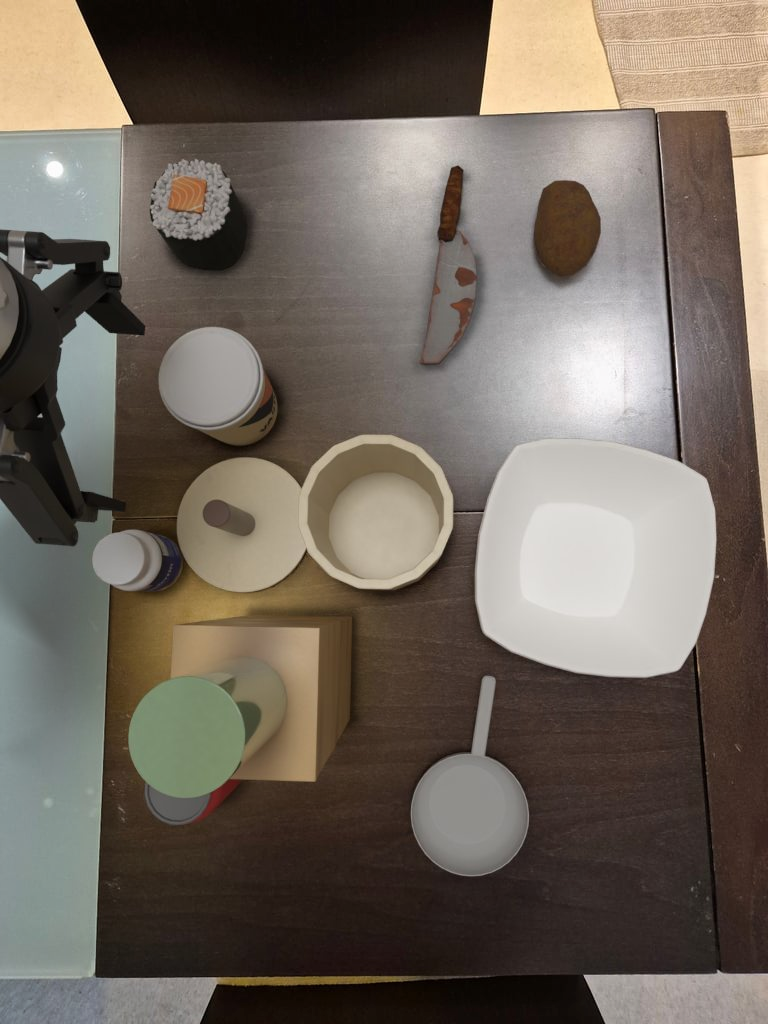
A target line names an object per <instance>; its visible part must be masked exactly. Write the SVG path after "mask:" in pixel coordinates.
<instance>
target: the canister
mask: <svg viewBox="0 0 768 1024" xmlns="http://www.w3.org/2000/svg"><path fill="white" fill-rule="evenodd" d="M286 711H287V693H286V689H285V685H284V683H283V681H282V679H281V677H280V676H279V674H278V673H277V672H276V671H275V670H274V669H273V668H272V667H271V666H270V665H268V664H267V663H265V662H263V661H262V660H259V659H256V658H252V657H245V656H244V657H235V658H231V659H228V660H225V661H222V662H219V663H216V664H213V665H210V666H207V667H204V668H201V669H198V670H195V671H193V672H190V673H187V674H184V675H181V676H178V677H175V678H172V679H170V678H169V679H167V680H164V681H162V682H160V683H158V684H157V685H155V686H154V687H152V688H151V689H150V690H149V691H148V692H147V693H146V694H145V695H143V697H142V698H141V700H140V701H139V702H138V704H137V706H136V707H135V709H134V711H133V713H132V716H131V719H130V722H129V727H128V734H127V735H128V737H127V738H128V743H127V744H128V750H129V754H130V759H131V761H132V763H133V766H134V768H135V769H136V771H137V773H138V774H139V776H140V777H141V778H142V779H143V781H144V782H147V783H148V784H149V785H150V786H151V787H153V788H154V789H156V790H157V791H159V792H161V793H163V794H166V795H168V796H172V797H176V798H194V797H200V796H203V795H206V794H208V793H210V792H213V791H214V790H216V789H217V788H219V787H220V786H222V785H223V784H224V783H225V782H226V781H227V780H228V779H229V778H230V777H231V776H233V775H234V774H235V773H236V772H237V771H238V770H239V769H240V768H241V767H242V766H243V765H244V764H245V763H246V762H247V761H248V760H249V759H250V758H251V757H252V756H253V755H254V754H255V753H256V752H257V751H258V750H259V749H260V748H261V747H262V746H263V745H264V744H265V743H266V742H267V741H269V740H270V739H271V738H272V737H273V736H274V735H275V733H276V732H277V731H278V730H279V728H280V727H281V725H282V723H283V721H284V718H285V716H286Z"/></svg>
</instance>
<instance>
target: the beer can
mask: <svg viewBox="0 0 768 1024" xmlns="http://www.w3.org/2000/svg"><path fill="white" fill-rule="evenodd" d="M241 782H242V780H241V779H228V780H227V781H226V782H225V783H224V784H223V785H222V786H220V787H219V788H217V789H216V790H214V791H213V792H210V793H208V794H206V795H203V796H200V797H194V798H176V797H172V796H168V795H166V794H163V793H161V792H159V791H157V790H156V789H154V788H153V787H151V786H150V785H149V784H148V783H147V782H146V781H144V799H145V802H146V806H147V808H148V809H149V811H150V813H152V815H153V816H154V817H155V818H156V819H158V820H159V821H161V822H163V823H165V824H168V825H169V826H182V825H189V824H193V823H195V822H198V821H202V820H204V819H205V818H206V817H208V816H209V815H211V814H212V813H213V812H214V811H215V810H216V809H217V808H218V807H219V806H220V805H221V804H222V803H223V802H224V800H225V799H227V797H228V796H229V795H230V794H231V793H232V792H233V791H234V790H235V789H236V788H237V787H238V786H239V785H240V783H241Z"/></svg>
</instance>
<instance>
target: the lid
mask: <svg viewBox="0 0 768 1024" xmlns="http://www.w3.org/2000/svg"><path fill="white" fill-rule="evenodd" d="M301 489H302V486H301V485H300V484H299V482H298V481H297V480H296V479H295V478H294V477H293V475H291V474H290V473H289V472H288V471H287V470H286V469H284V468H282V467H281V466H279V465H278V464H275V463H274V462H272V461H268V460H266V459H262V458H259V457H250V456H243V457H233V458H228V459H226V460H223V461H220V462H218V463H216V464H214V465H211V466H210V467H208V468H207V469H205V470H204V471H203V472H202V473H200V474H199V475H198V476H197V477H195V479H194V480H193V481H192V482H191V484H190V486H189V487H188V488H187V490H186V491H185V493H184V495H183V496H182V499H181V502H180V505H179V507H178V511H177V517H176V536H177V542H178V546H179V549H180V551H181V554H182V557H183V559H184V560H185V562H186V563H187V564H188V566H189V567H190V568H191V570H192V571H193V572H194V573H195V574H196V575H197V576H198V577H199V578H200V579H202V580H203V581H205V582H206V583H207V584H209V585H211V586H213V587H215V588H217V589H220V590H223V591H227V592H231V593H253V592H258V591H259V592H260V591H262V590H265V589H268V588H271V587H273V586H275V585H277V584H279V583H280V582H282V581H283V580H285V579H286V578H287V577H288V576H289V575H290V574H291V573H293V572H294V570H296V568H297V567H298V565H299V564H300V563H301V561H302V560H303V558H304V556H305V554H306V552H307V548H306V546H305V543H304V540H303V538H302V535H301V532H300V530H299V527H298V503H299V493H300V491H301Z"/></svg>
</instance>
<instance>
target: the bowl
mask: <svg viewBox="0 0 768 1024" xmlns="http://www.w3.org/2000/svg"><path fill="white" fill-rule="evenodd" d="M491 485H492V486H491V488H490V491H489V493H488V496H487V499H486V503H485V506H484V510H483V514H482V518H481V522H480V524H479V525H480V526H479V530H478V533H477V543H476V551H475V552H476V553H475V562H474V603H475V607H476V612H477V616H478V617H477V618H478V621H479V625H480V629H481V631H482V634H483V635H485V637H487V638H488V639H490V640H491V641H493V642H494V643H496V644H497V645H498V646H500V647H502V648H503V649H505V650H507V651H508V652H510V653H512V654H515V655H518V656H520V657H523V658H526V659H528V660H531V661H534V662H537V663H539V664H542V665H545V666H549V667H553V668H556V669H560V670H563V671H567V672H571V673H574V674H579V675H588V676H597V677H605V678H628V679H629V678H630V679H631V678H632V679H633V678H634V679H635V678H636V679H648V678H653V677H658V676H663V675H667V674H672V673H676V672H678V671H680V669H682V667H683V666H684V664H685V662H686V660H687V659H688V658H689V655H690V654H691V652H692V650H693V649H694V648H695V646H696V644H697V642H698V639H699V636H700V633H701V630H702V627H703V625H704V622H705V618H706V615H707V612H708V607H709V604H710V603H709V602H710V598H711V594H712V589H713V584H714V580H715V572H716V557H717V556H716V555H717V539H718V538H717V537H718V536H717V519H716V518H717V517H716V508H715V505H714V499H713V496H712V492H711V489H710V488H711V487H710V485H709V482H708V480H707V477H705V476H704V475H703V474H701V473H699V472H697V471H696V470H695V469H693V468H692V467H689V466H688V465H686V464H684V463H683V462H681V461H679V460H678V459H674V458H672V457H668V456H665V455H663V454H660V453H656V452H654V451H651V450H648V449H645V448H640V447H637V446H633V445H629V444H624V443H621V442H617V441H611V440H601V439H591V438H581V437H580V438H579V437H577V438H576V437H545V438H540V439H536V440H531V441H526V442H522V443H518V444H516V445H514V446H513V447H512V448H511V450H510V451H509V453H508V454H507V457H506V458H505V459H504V461H503V462H502V464H501V466H500V467H499V469H498V470H497V472H496V475H495V477H494V480H493V483H492V484H491Z"/></svg>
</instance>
